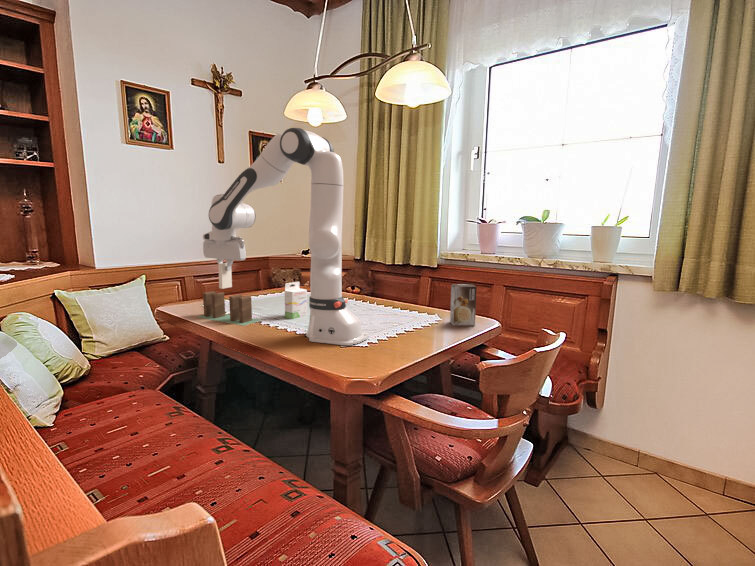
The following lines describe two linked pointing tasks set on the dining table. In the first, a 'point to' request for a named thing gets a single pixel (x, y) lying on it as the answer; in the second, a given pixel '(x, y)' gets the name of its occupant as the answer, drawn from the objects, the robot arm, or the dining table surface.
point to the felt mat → (227, 320)
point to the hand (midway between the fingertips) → (225, 270)
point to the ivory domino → (224, 276)
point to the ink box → (295, 301)
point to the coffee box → (463, 304)
